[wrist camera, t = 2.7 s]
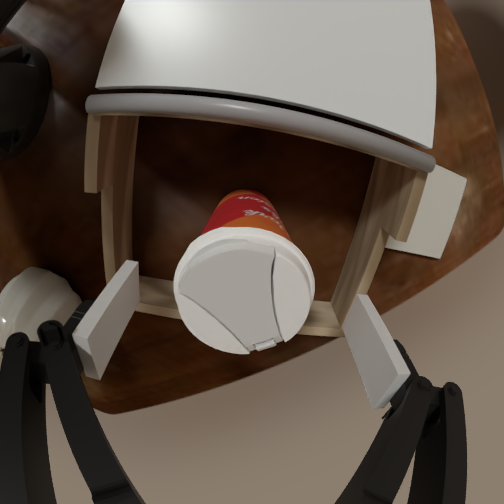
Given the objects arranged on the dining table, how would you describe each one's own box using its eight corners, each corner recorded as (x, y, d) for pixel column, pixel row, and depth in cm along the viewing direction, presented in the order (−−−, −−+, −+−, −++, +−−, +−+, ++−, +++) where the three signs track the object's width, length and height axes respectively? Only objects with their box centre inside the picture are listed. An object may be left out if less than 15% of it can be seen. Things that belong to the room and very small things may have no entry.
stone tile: (371, 243, 30) (373, 245, 29) (398, 149, 25) (400, 150, 24) (437, 256, 31) (439, 258, 30) (464, 178, 26) (466, 179, 25)
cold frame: (124, 280, 31) (98, 322, 24) (130, 103, 23) (89, 100, 15) (335, 310, 34) (353, 355, 27) (387, 148, 25) (431, 161, 18)
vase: (18, 250, 29) (-39, 300, 17) (91, 267, 31) (35, 337, 19) (37, 322, 35) (-1, 377, 23) (104, 344, 37) (72, 413, 24)
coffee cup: (297, 236, 29) (334, 334, 16) (226, 264, 31) (212, 372, 17) (266, 162, 26) (288, 208, 12) (190, 196, 27) (138, 272, 14)
